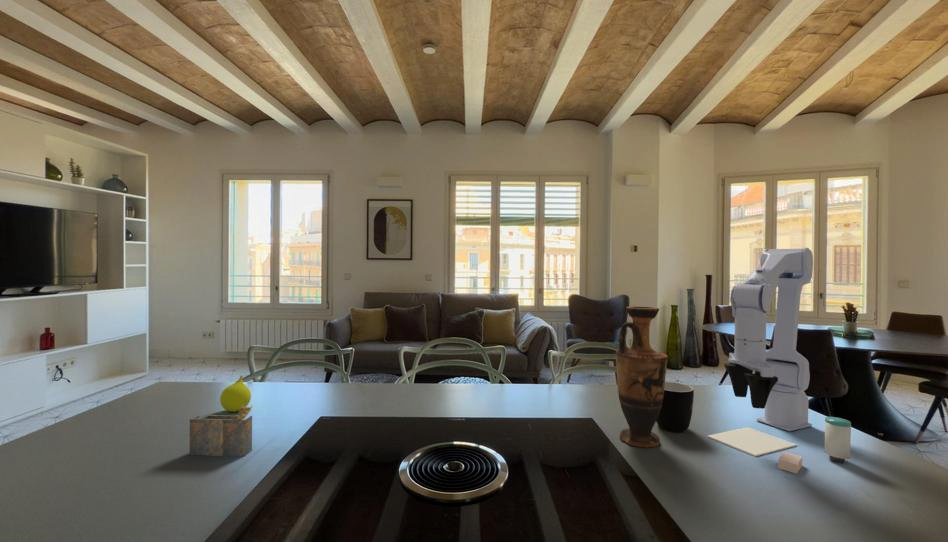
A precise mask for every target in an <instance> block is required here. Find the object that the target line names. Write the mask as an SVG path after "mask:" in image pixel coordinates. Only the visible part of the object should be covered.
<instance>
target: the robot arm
mask: <svg viewBox="0 0 948 542" xmlns="http://www.w3.org/2000/svg"><path fill="white" fill-rule="evenodd" d="M813 257H814V256H813V252H812V250H811V249H810V248H809V247H803V248H771V249H770V248H765V249H764V250H762V252H761V254H760V260H759V263H760V267H757V268H756V269H754V270H753V271H752V272H751V273H750V275H748V276H747V278H746V279H745V281H744V282H743V283H737V285H734V286H733V287H732V289H731V292H730V297H729V299H730V300H729V301H730V305H731V308H732V310H731V311H732V314H731V315H732V317H733V318H734V351H733V352H729V353H728V354H729V355H728V362H730V363H724V368H725V370H726V372H727V373H728V376H729V379H730V382H731V386H732V390H733V394H734V397H737V398H747V395H748V389H749V392H750V403H751V406H752V408H754V409H762V410H763V409H764V416H762V417H757V418H756V421H757V422H761V423H763V424H766V425H769V426H772V427H776V428H778V429H780V430H784V431H787V432H792V431H796V430H800V429H804V428H809V427H810V428H811V427H813V424H812V423H810V422H809V397H808V395H807V394H806V392H805V391H806V390H808V387H809V384H810V378H811V374H810V363H809V360H808V359H807V358H806V357H805V356H803V354H801V353H799V352H798V351H797V342H798V331H799V330H798V329H799V320H800V306H801V305H800V304H801V294H802V290H803V287H804V286H805V285H808V284H810V283H811V282H812V278H813V271H814V269H813V267H814V258H813ZM777 288H778V289H777ZM776 290H777V299H776V309H775V310H776V311H775V323H774V332H773V343H772V347H771V348H770V349H768V350H767V312H768V311H770V309H771V305H772V300H773V294H774V292H775V291H776ZM775 360H776V361H775ZM789 362H791V363H789ZM753 372H754V373H753Z"/></svg>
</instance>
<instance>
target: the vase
mask: <svg viewBox="0 0 948 542" xmlns="http://www.w3.org/2000/svg"><path fill="white" fill-rule="evenodd" d="M625 309H626V312H627V314H628V316H629V317H631V319H632V321H626V322H624V323H623V324H622V326H621V328H620V331H619V336H618V346H617V349H616V351H615V359H616V382H617V383H616V384H617V394H618V399H619V403H620V408H621V410H622V413H623V415H624V418H625V421H626V423H627V425H628V427H629V428H625V429H622V430H621V431H620V433H619V439H620V440H621V441H623V442H625V444H627V445H630V446H633V447H634V446H635V447H638V448H655V447H657V446H659V445H660V444H661V443H660V442H661V441H660V437H659V435H658V434H656V433H654V432H653V431H652V430H653V428H654V425H655V424H656V423H657V422H656V420H657V418H658V416H659V413H660V410H661V407H662V402H663V396H664V387H665V382H666V375H667V364H668V358H669V356H668V355H667V354H665V353H663V352H660V351H656V350H655V349H653V347H651V343H650V325H651V321H652V320H653V319H656V317H657V315H658V313H659V311H660V308H658V307H651V306H636V305H635V306H634V305H633V306H626V307H625ZM627 328H630V330H631V332H632V344H631V346H630V347H628V346H627V341H626V331H627Z"/></svg>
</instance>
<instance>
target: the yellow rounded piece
mask: <svg viewBox="0 0 948 542" xmlns="http://www.w3.org/2000/svg"><path fill="white" fill-rule="evenodd" d="M243 376H244V375H240V376H239V378H238V380H237V381H236V382H234V383H231V384H230V385H229V386H227V387H226V388H224V390H222V391H221V394H220V398H219V402H220V405H221V407H222V408H223V409H224V410H225V411H227V412H230V413H236V412H237V413H238V412H239V408H241V407H242V405H243V407H248V405H249V404H250V402H251V399H252V393H251V390H250V389H249V387H248V386H247V385H246V384H245V383H244V382H243V381H244V380H243Z"/></svg>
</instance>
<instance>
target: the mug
mask: <svg viewBox="0 0 948 542" xmlns="http://www.w3.org/2000/svg"><path fill="white" fill-rule="evenodd" d="M694 390H695V389H694V387H692V386H690V385H689V384H686V383H681V382H675V381H665V387H664V396H663V402H662V407H661V410H660V413H659V416H658V418H657V420H656V422H655V423H656V424H657V425H658V427H659V428H660V429H661V430H664V431H665V432H670V433H678V434H679V433H685V432H687V431H688V429H689V427H690V424H691V421H692V415H693V408H694V398H695V397H694V396H695V395H694V394H695V393H694V392H695V391H694Z"/></svg>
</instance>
